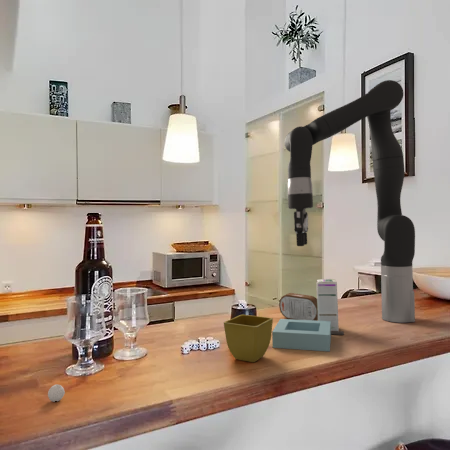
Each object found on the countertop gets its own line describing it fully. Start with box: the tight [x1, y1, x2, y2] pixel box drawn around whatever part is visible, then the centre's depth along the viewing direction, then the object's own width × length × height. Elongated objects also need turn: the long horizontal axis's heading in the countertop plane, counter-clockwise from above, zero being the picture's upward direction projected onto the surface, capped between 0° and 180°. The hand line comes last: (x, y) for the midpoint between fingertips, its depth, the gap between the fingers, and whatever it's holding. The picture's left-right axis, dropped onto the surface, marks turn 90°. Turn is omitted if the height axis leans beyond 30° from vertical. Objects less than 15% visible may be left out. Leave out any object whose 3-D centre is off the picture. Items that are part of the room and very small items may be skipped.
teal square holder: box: [271, 318, 332, 352], centre depth 106 cm, size 14×14×4 cm
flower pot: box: [223, 314, 274, 363], centre depth 93 cm, size 9×9×9 cm
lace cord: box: [331, 330, 345, 336], centre depth 113 cm, size 19×1×1 cm, turn 74°
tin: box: [278, 292, 318, 321], centre depth 128 cm, size 15×3×8 cm, turn 47°
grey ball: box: [47, 384, 66, 403], centre depth 72 cm, size 3×3×3 cm
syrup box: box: [316, 278, 340, 331], centre depth 116 cm, size 6×6×14 cm
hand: (302, 245), depth 124 cm, fingers open, 8 cm apart
